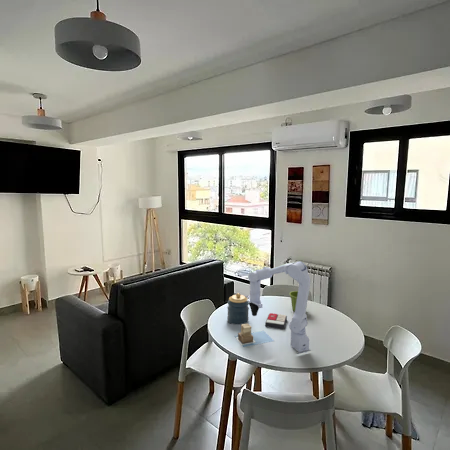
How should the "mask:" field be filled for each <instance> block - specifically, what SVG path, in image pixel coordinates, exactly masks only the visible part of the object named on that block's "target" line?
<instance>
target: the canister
mask: <svg viewBox="0 0 450 450" xmlns="http://www.w3.org/2000/svg"><path fill="white" fill-rule="evenodd" d="M248 300H249V299H248V297H246V296H245V295H243V294H240V293H239V292H237V293H236V294H233V295H232V296H229V298H228V300H227V307H226V308H227V322H228V323H229V324H230V325H232V324H233V325H242V324H247V323H248V322H249V320H250V318H249V310H250V308H249V307H250V306H249V303H250V302H248Z"/></svg>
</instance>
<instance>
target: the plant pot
mask: <svg viewBox="0 0 450 450" xmlns="http://www.w3.org/2000/svg"><path fill="white" fill-rule="evenodd" d="M297 295H298V290H294V291H293V290H292V291H290V292H289V296H290V300H291V310H292V311H293V312H295V308H296V301H297Z"/></svg>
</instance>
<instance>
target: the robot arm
mask: <svg viewBox="0 0 450 450" xmlns="http://www.w3.org/2000/svg"><path fill="white" fill-rule="evenodd" d="M281 273H284V274H285V275H288V276H289V277H290V278H292V279H293V280H294V281H296V282H297V283H298V288H297V289H298V290H297V291H298V295H297V301H296V308H295V311H294V313H293V316H292V317H291V321H290V322H289V325H288V326H289V330H290V343H289V344H290V347H291V348H293V349H295V350H296V351H297V353H296V354H302V353H306V352H310V351H311V349H310V338H309V336H307V333H306V332H307V331H306V327H307V326H308V318H307V317H308V314H307V306H308V300H309V293H310V289H311V278H310V274H309V272H308V267H307V265H306V264H305V263H304V262H303V261H296V262H295V261H294V262H292V261H291V262H288V263H285V264H282V265H278V266H276V267H273V268H271V267H269V266H263V267H262V268H261V269H258V268H257V269H256V270H253V271H251V272H250V273H249V274H248V276H247V278H248V281H249V295H247V299H248V300H247V301H248V302H249V304H248V306H249V307H250V308H249V309H250V311H251V315H252V317H257V315H258V312H259V309H262V308H263V303H262V301H261V282H262V281H265V280H267V279H272V277H273V275H277V274H281Z"/></svg>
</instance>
